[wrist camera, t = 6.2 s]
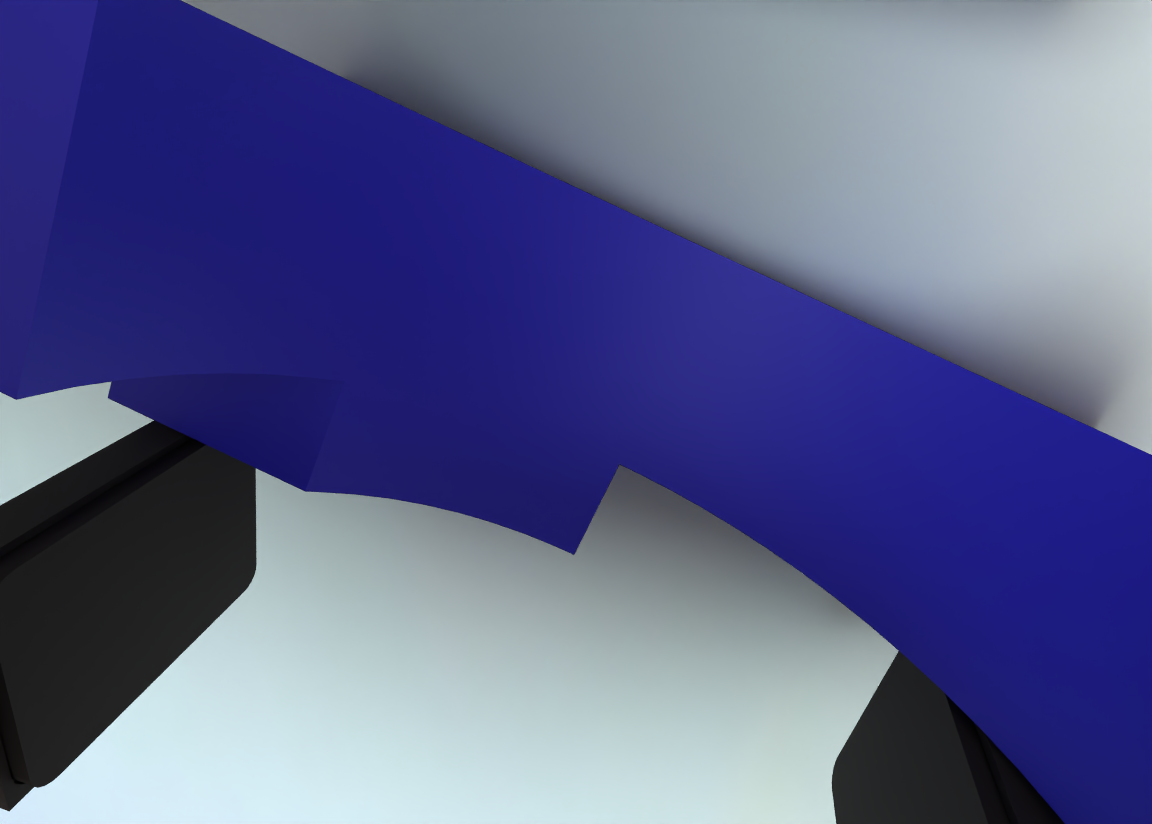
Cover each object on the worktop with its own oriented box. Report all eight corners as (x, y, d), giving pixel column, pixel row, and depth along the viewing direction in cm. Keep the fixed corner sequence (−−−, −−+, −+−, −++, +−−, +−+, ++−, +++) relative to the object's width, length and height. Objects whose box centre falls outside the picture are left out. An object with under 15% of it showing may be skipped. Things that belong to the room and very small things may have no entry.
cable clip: (251, 355, 11) (-190, 485, 5) (337, 76, 10) (-116, -140, 4) (923, 672, 11) (1203, 1149, 5) (1096, 430, 10) (1704, 711, 4)
